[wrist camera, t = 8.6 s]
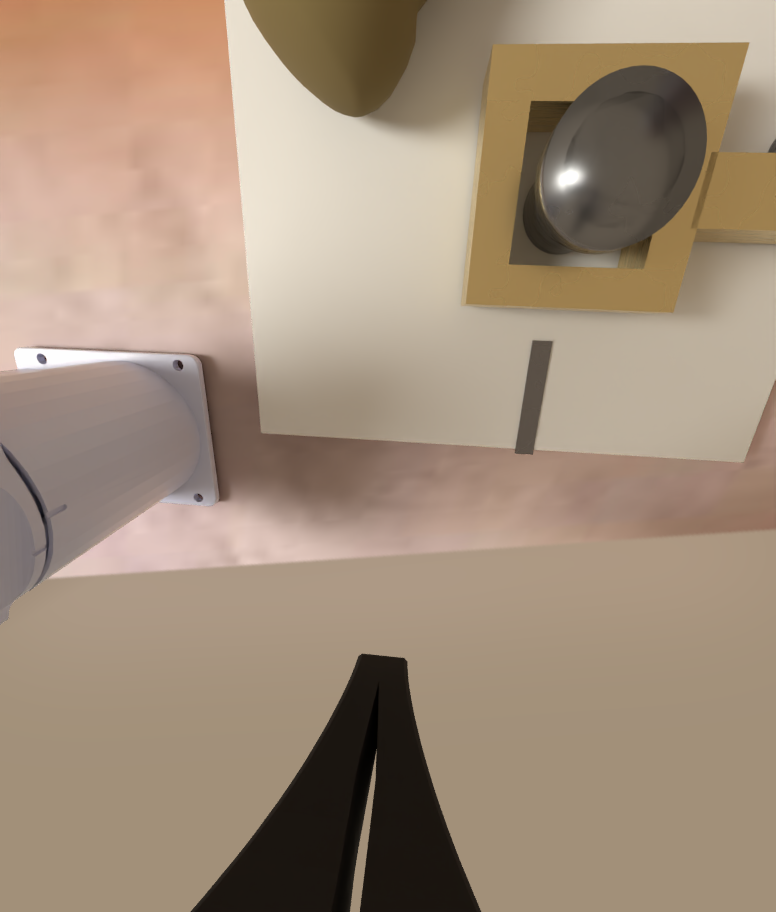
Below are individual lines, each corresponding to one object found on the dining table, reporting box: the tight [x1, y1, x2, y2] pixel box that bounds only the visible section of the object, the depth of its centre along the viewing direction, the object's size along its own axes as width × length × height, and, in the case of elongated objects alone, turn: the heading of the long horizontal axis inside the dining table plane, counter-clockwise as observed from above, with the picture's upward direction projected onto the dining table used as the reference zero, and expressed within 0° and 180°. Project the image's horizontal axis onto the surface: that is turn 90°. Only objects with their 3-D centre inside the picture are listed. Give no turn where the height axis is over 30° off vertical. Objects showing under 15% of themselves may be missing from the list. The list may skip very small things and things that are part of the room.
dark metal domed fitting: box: [515, 65, 776, 455], centre depth 13 cm, size 12×12×4 cm
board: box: [224, 0, 776, 463], centre depth 15 cm, size 22×17×1 cm
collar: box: [461, 42, 776, 313], centre depth 12 cm, size 13×7×3 cm, turn 88°
